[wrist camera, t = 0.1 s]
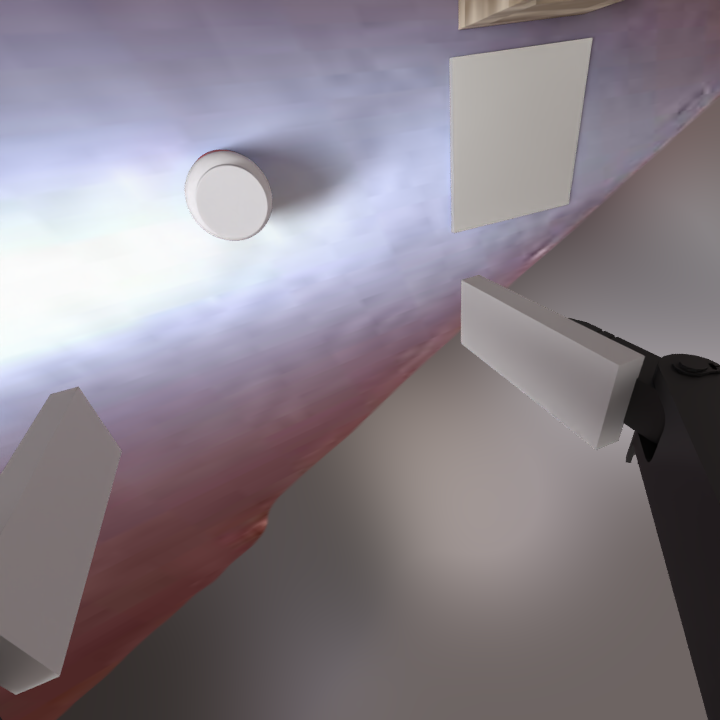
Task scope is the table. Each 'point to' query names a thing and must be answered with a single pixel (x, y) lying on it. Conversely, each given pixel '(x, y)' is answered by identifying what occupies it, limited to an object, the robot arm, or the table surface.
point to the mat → (514, 130)
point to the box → (521, 10)
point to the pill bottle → (228, 195)
